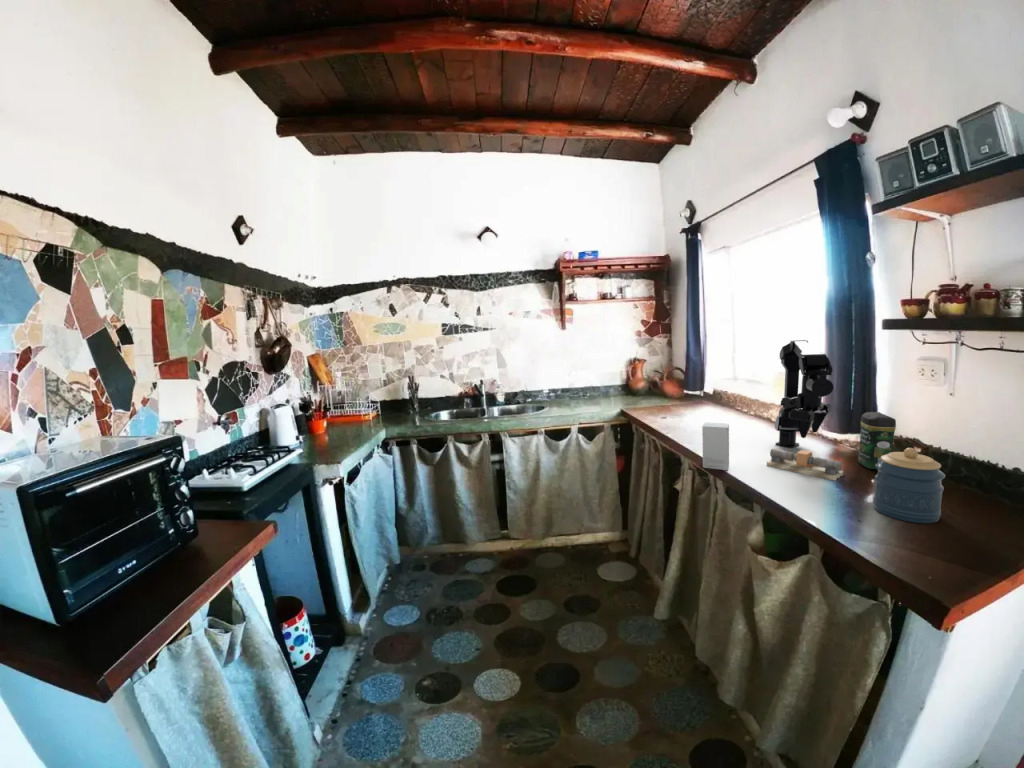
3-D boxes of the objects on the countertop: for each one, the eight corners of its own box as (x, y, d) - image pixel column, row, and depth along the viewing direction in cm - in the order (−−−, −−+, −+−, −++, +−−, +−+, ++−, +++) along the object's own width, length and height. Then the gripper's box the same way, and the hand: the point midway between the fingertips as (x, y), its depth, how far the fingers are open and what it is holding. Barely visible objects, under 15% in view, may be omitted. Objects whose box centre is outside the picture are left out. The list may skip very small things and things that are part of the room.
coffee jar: (853, 460, 147) (857, 410, 145) (881, 462, 145) (885, 410, 142) (866, 470, 138) (871, 416, 136) (896, 472, 136) (901, 416, 133)
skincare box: (729, 465, 149) (730, 423, 146) (727, 471, 143) (728, 427, 141) (703, 462, 153) (704, 421, 151) (701, 467, 148) (702, 425, 145)
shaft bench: (766, 465, 147) (767, 451, 146) (776, 460, 152) (777, 446, 151) (834, 480, 131) (835, 465, 130) (843, 474, 136) (844, 459, 135)
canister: (880, 519, 106) (886, 453, 104) (866, 499, 117) (871, 439, 115) (950, 528, 100) (958, 458, 98) (928, 506, 111) (934, 443, 109)
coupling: (792, 466, 142) (793, 452, 141) (798, 462, 144) (798, 449, 144) (809, 469, 138) (810, 455, 137) (814, 466, 140) (815, 452, 140)
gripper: (796, 384, 151) (794, 425, 154) (773, 391, 141) (770, 435, 143) (833, 387, 142) (830, 431, 145) (810, 395, 132) (807, 442, 134)
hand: (808, 434), depth 142 cm, fingers open, 9 cm apart
